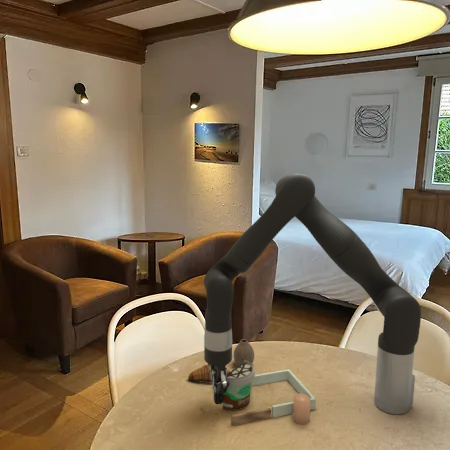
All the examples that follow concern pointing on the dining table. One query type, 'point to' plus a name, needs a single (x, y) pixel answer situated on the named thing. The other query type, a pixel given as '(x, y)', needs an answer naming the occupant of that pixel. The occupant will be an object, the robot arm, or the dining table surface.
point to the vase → (243, 353)
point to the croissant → (201, 374)
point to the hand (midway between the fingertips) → (218, 402)
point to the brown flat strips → (250, 416)
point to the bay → (281, 376)
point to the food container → (239, 387)
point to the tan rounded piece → (301, 408)
